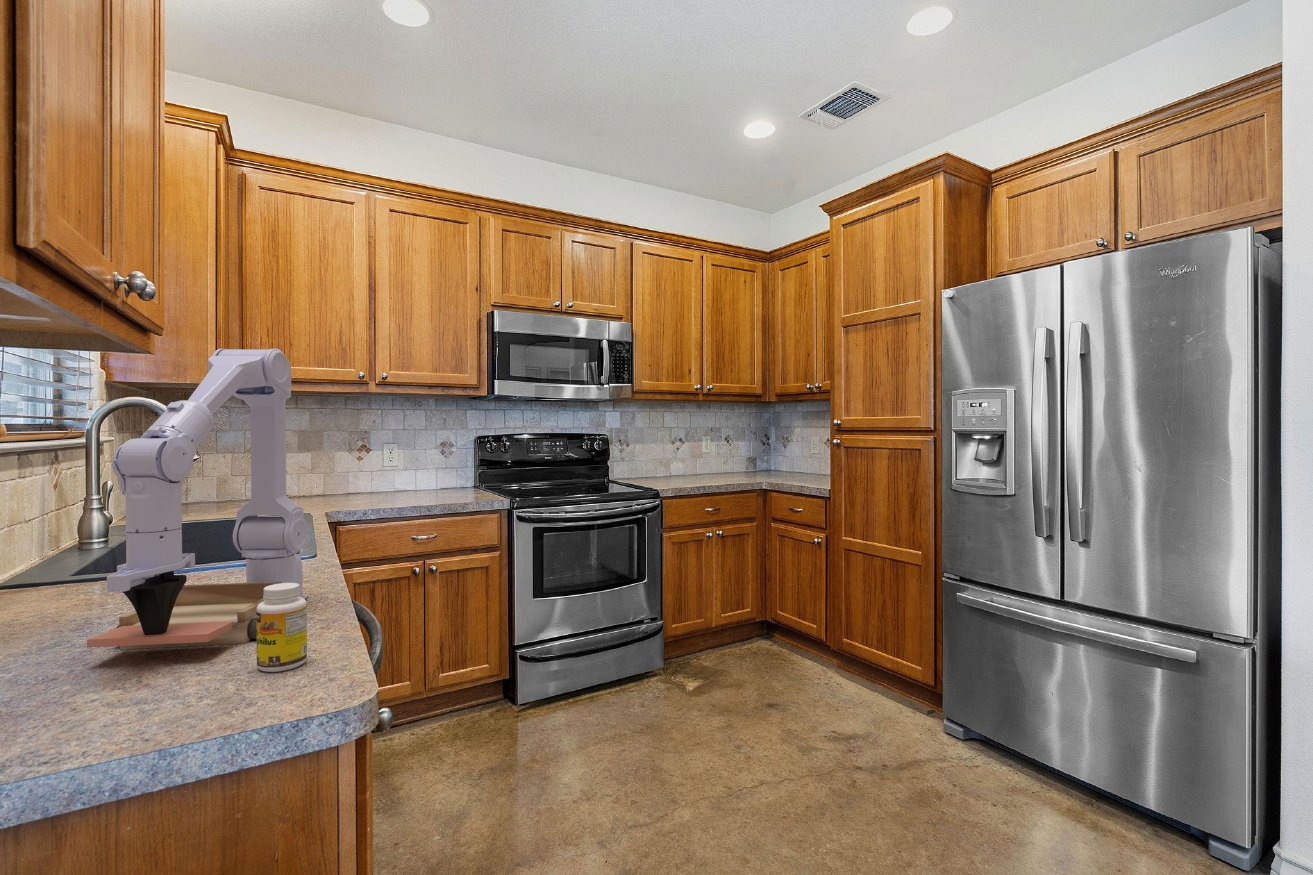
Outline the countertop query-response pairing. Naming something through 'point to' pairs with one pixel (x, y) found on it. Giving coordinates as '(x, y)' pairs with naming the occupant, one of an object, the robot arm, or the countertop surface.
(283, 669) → the supplement bottle
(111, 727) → the countertop surface
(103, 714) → the countertop surface
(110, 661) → the countertop surface
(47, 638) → the countertop surface
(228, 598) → the truck bed
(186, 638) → the panel
